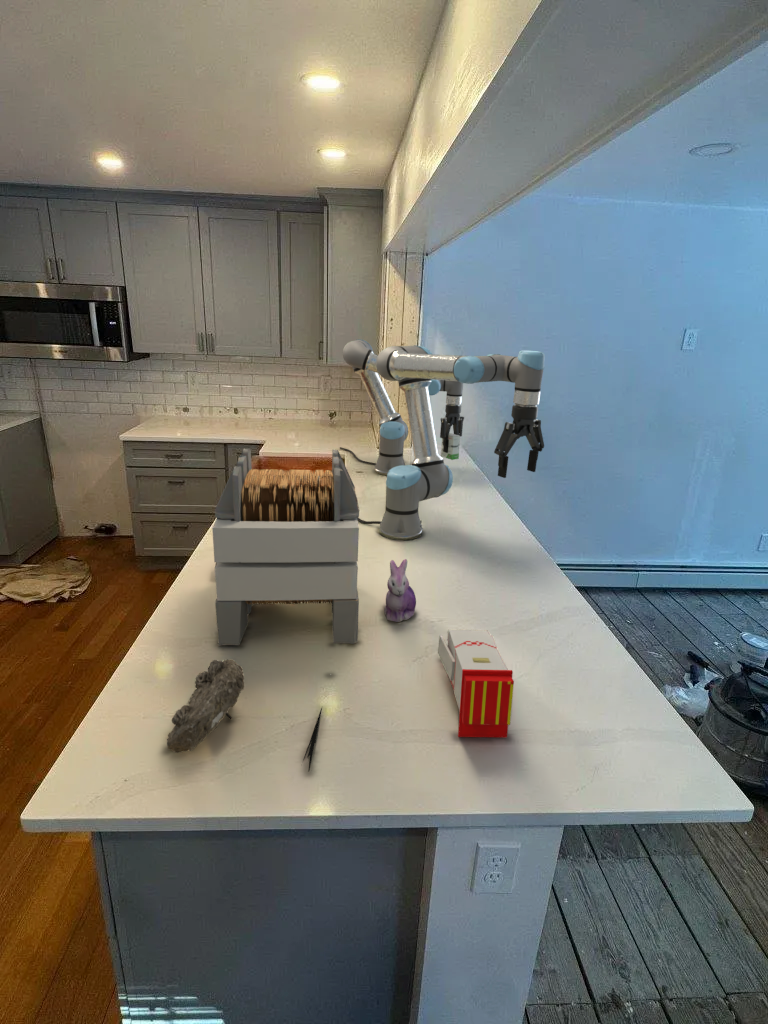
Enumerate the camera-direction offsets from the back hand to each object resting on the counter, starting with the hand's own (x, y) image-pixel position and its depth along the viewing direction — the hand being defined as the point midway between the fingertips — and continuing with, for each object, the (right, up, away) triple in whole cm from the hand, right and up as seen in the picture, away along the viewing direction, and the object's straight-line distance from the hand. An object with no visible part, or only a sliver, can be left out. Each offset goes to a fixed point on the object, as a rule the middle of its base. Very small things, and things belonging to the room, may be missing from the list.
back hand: (449, 451), depth 281 cm
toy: (-15, -68, -163) cm, 177 cm away
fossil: (-65, -69, -173) cm, 197 cm away
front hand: (+9, -18, -106) cm, 108 cm away
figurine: (-29, -57, -134) cm, 148 cm away
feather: (-45, -70, -172) cm, 191 cm away
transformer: (-57, -55, -134) cm, 156 cm away
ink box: (0, -3, +1) cm, 3 cm away
